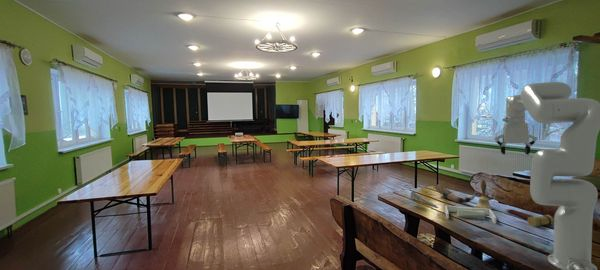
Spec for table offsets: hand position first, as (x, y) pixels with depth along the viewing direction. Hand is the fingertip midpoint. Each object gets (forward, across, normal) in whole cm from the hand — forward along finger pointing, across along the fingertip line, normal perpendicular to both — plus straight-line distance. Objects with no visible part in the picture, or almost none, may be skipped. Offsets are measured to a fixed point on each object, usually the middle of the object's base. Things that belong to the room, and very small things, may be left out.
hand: (515, 154), depth 138 cm
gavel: (+34, +4, 0) cm, 34 cm away
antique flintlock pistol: (+34, -25, +20) cm, 46 cm away
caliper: (+34, -43, +12) cm, 56 cm away
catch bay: (+33, -21, -5) cm, 40 cm away
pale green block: (+34, -20, -4) cm, 39 cm away
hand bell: (+34, -11, +13) cm, 38 cm away
